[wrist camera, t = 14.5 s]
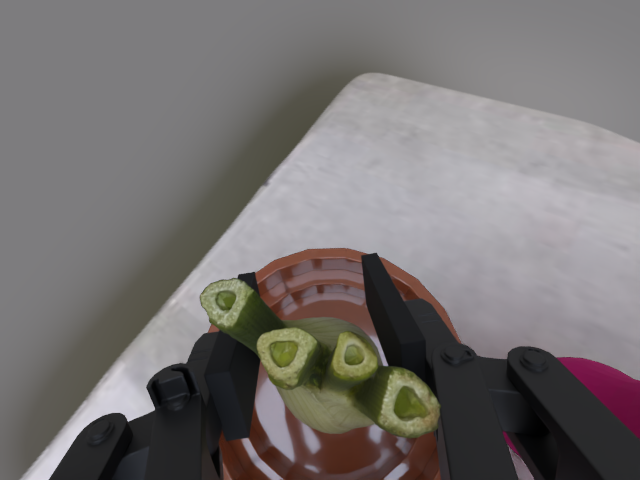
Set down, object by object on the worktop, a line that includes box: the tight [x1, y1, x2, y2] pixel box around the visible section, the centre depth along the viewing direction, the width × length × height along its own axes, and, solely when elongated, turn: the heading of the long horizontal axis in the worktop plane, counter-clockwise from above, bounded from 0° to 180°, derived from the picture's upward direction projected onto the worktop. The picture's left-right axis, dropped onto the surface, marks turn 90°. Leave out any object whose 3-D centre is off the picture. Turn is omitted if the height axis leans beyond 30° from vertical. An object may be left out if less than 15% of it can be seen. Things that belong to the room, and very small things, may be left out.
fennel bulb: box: [200, 278, 441, 438], centre depth 13 cm, size 6×5×12 cm
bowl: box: [208, 248, 462, 480], centre depth 23 cm, size 17×17×6 cm
